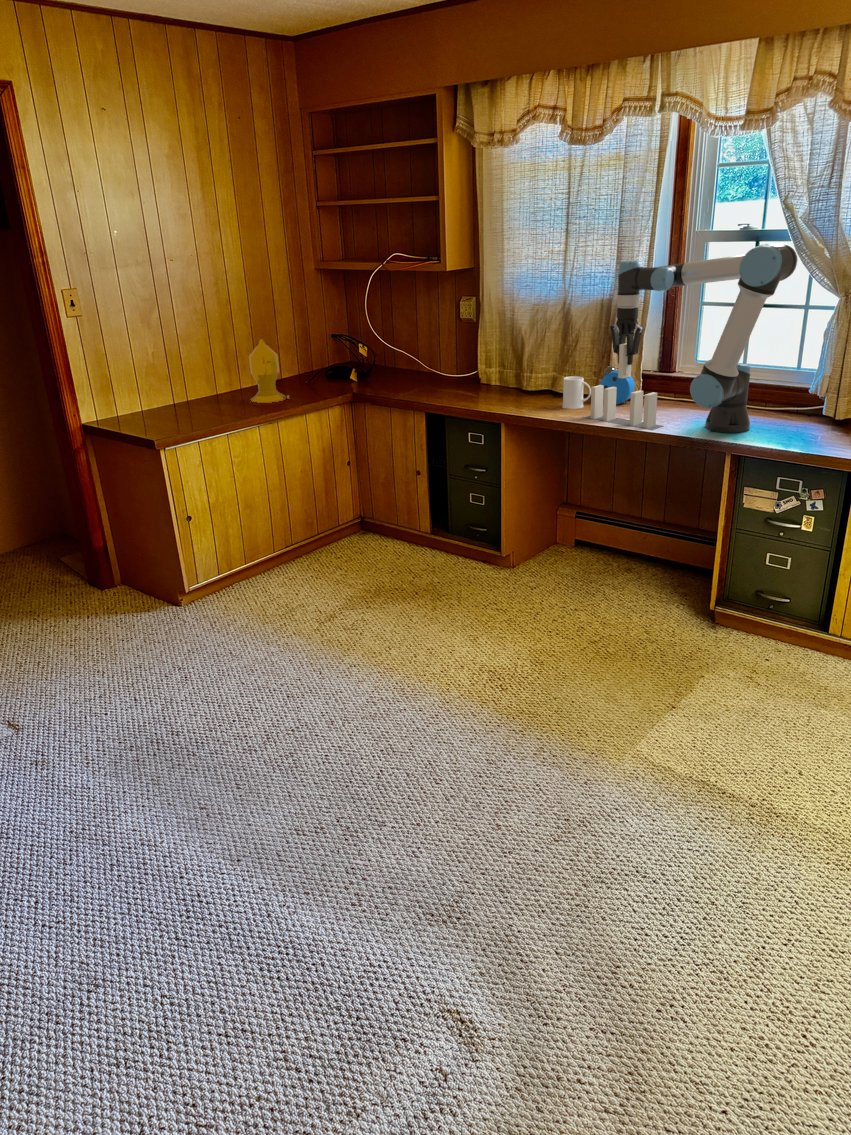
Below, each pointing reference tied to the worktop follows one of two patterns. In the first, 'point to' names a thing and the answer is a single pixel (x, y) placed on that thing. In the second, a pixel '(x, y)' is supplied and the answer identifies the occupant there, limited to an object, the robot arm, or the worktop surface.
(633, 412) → the domino
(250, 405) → the worktop surface
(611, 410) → the domino
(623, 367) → the domino
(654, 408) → the domino
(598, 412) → the domino
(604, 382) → the alarm clock
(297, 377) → the worktop surface
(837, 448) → the worktop surface
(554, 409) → the worktop surface
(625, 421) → the mat
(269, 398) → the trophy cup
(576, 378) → the mug
